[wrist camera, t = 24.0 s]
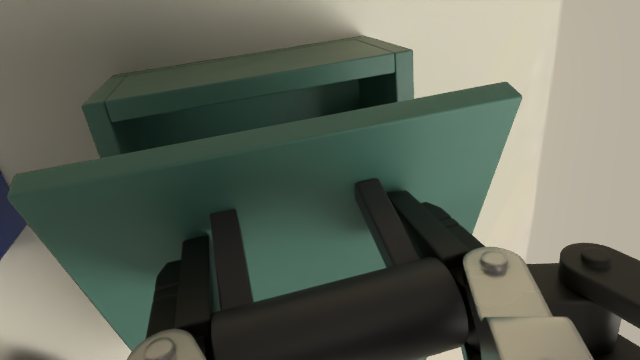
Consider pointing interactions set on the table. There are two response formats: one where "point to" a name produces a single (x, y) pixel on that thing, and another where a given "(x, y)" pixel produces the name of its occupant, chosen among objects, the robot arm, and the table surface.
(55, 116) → the table surface
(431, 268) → the lunchbox lid
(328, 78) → the lunchbox
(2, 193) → the block
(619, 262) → the robot arm
